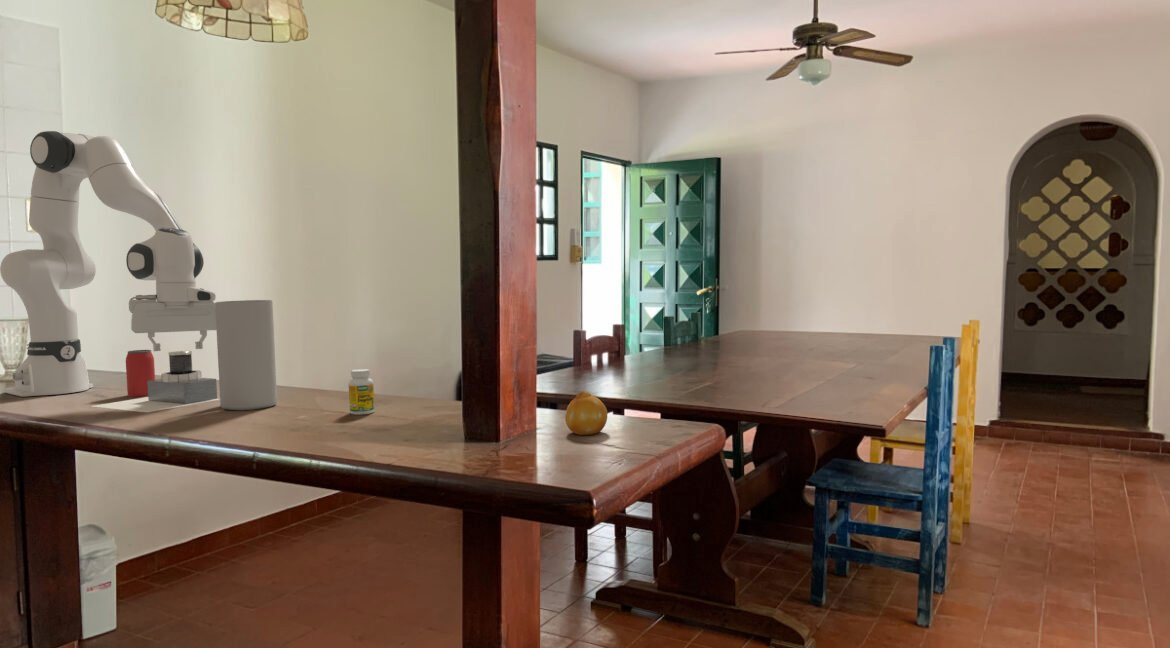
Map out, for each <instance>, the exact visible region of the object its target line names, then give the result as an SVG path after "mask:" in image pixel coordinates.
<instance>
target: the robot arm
mask: <svg viewBox="0 0 1170 648" xmlns="http://www.w3.org/2000/svg"><path fill="white" fill-rule="evenodd" d="M29 154H30V158H31V159H32V163H33V164H34V165H35V169H34V173H33V176H32V177H33V178H32V182H31V187H30V188H31V189H30V197H29V198H30V200H29V201H30V202H29V214H28V215H29V216H28V223H29V226H30V228H31V229H32V230H33V231H34V232H36V233H37V234H38V235H39V237H40V238H41V241H42V246H43V249H39V248H38V249H37V248H36V249H34V248H33V249H30V248H29V249H23V250H22V249H21V250H17V251H13V252H10V253H8V254H6V255H5V256H4V257H3V259H2V261H0V276H1V279H2V280H3V282H4V284H6V285H7V286H8V287H10V289H12V290H13V291H14V292H15V293H17V296H19V298H20V299H21V301H22V303H23V305H24V308H25V310H26V313H27V318H28V319H27V320H28V326H29V335H30V342H28V344H26V346H27V347H26V349H27V353H26V355H27V357H26V358H25V360H23V361H22V362H21V364H20V365H19V366H18V367H17V368H16V369H15V370H14V372H13V373H12V379H13V381H14V386H12V387H9V388H5V389H4V393H6V394H10V395H14V396H17V397H35V396H49V395H50V396H52V395H63V394H70V393H78V392H84V391H87V390H89V389H91V388H94V383H92V382H91V383H90V380H89V374H88V368H87V367H88V366H87V362H86V358H84V357H83V356H82V355H81V354H80V353H81V352H82V344H81V339H79V331H78V329H79V327H78V315H77V311H76V310H75V309H74V307H72V306H70V305H68V304H67V302H65V300H64V298H63V296H62V294H61V290H74V289H77V288H81V287H84V286H87V285H89V284H90V283H92V281H94V279H95V276H96V274H97V273H96V272H97V269H96V264H95V261H94V260H93V258H92V257H91V256H90V255H89V254H88V253H87V252H86V250H85V249H84V247H83V245H82V242H81V238H80V234H79V226H78V225H79V205H80V186H81V183H82V182H83V180H85V179H87V178H88V181H89V183H90V185H91V187H92V190H93V192H94V194H95V196H96V197H97V198H98V199H99V200H100V202H101V203H102V204H103V205H105V206H107V207H108V208H111V209H113V210H116V211H119V212H122V213H126V214H129V215H131V216H134V217H137V218H139V219H142V220H144V221H145V222H147V223H149V225H151V227H153V229H154V230H155V232H154V234H153V236H151V237H150V238H148V239H146V240H144V241H141V242H138V243H137V242H136V243H134V244H133V245H131V247H130V248H129V250H128V251H127V253H126V260H125V261H126V267H127V270H128V272H129V274H130V275H132V277H134V278H135V279H136V280H142V281H155V294H144V295H142V294H137V295H135V296H133V297H131V298H130V299H129V301H128V309H129V310H128V311H129V312H130V313H131V321H130V323H131V324H130V326H131V327H130V329H131V331H132V332H133V334H134V333H135V334H147V338H148V340H149V341H150V342H151V344H152V349H153V352H161V350H162V349H161V343H159V342H158V343H157V342H156V341H155V340H154V338H155V337H156V333H179V332H199V334H200V338H199V340H198V341H195V342H194V343H195V347H194V348H195V349H196V350H203V349H204V348H203V346H204V345H203V343H204V341H205V339H206V338H207V336H208V331H217V330H216V312H215V302H216V301H215V300H216V298H217V297H216V293H215V292H213V291H210V290H205V289H204V288H199V287H197V285H196V278H197V277H198V276H199V275H200V273H201V272H202V270H203V269H204V256H203V253H202V252H201V250H200V249H199V248H198V246H197V245H196V244H195V243H194V242H193V238H192V235H191V233H190V232H189V231H186V230H184V229H183V227H182V226H181V225H180V223H179V221H178V220H177V218H176V217H175V216H174V214H173V212H172V211H171V209H170V208H169V206H168V205H167V204H166V202H165V201H164V200H163V198H162V197H161V196H160V195H159V194H157V193H156V192H155V191H153V190H152V189H151V188H150V187H149V186H148V185H147V183H145V181H144V180H143V179H142V177H141V176H140V175H139V173H138V171H137V170H136V168H135V166H134V163H133V162H132V160H131V158H130V156H129V154H128V153H127V152H126V151H125V149H124V147H123V146H122V145H121V144H120V142H119V141H117V140H116V139H115V138H113V137H110V136H105V135H100V136H99V135H98V136H91V135H87V134H83V133H71V132H59V131H56V130H47V131H46V130H45V131H41V132H38V133H37V134H36V135H35V136H34V137H33V138H32V141H31V144H30V147H29Z"/></svg>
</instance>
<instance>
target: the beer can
mask: <svg viewBox="0 0 1170 648" xmlns="http://www.w3.org/2000/svg"><path fill="white" fill-rule="evenodd" d="M126 353H127V354H126V357H125V371H126V391H127V396H128V398H145V397H148V383H147V381H150V380H156V374H155V373H156V371H155V370H156V369H155V357H154V355H153V353H152V350H151V349H134V350H128V351H127V352H126Z"/></svg>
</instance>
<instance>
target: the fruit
mask: <svg viewBox="0 0 1170 648" xmlns="http://www.w3.org/2000/svg"><path fill="white" fill-rule="evenodd" d="M564 417H565V418H564V419H565V423H566V426H567V427H568V430H570V432H572V433H573V434H575V435H579V436H591V435H595V434H598V433H600V432H601V431H602V430H603V429H604V428H605V426H606V424H607V421H608V410H607V406H606V405H605V404H604V403H603V402H602V401H601V400H600V399H599V398H598V397H597V396H595V395H592V394H591V393H590V392H589V391H580V392H577V394H576V396H575V398H573V399H572V400H570V402H569V404H568V405H567V408H566V412H565V416H564Z"/></svg>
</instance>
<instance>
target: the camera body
mask: <svg viewBox="0 0 1170 648" xmlns="http://www.w3.org/2000/svg"><path fill="white" fill-rule="evenodd" d="M160 376H161V378H157V379H155V380H150V381H147V383H148V396H147V397H148V400H149V401H156V402H167V403H177V404H189V403H195V402H201V401H206V400H212V399H218V385H217V378H211V377H203V376H202V370H195V369H192V373H188V374H170V371H166V372H163V373H161V375H160Z"/></svg>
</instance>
